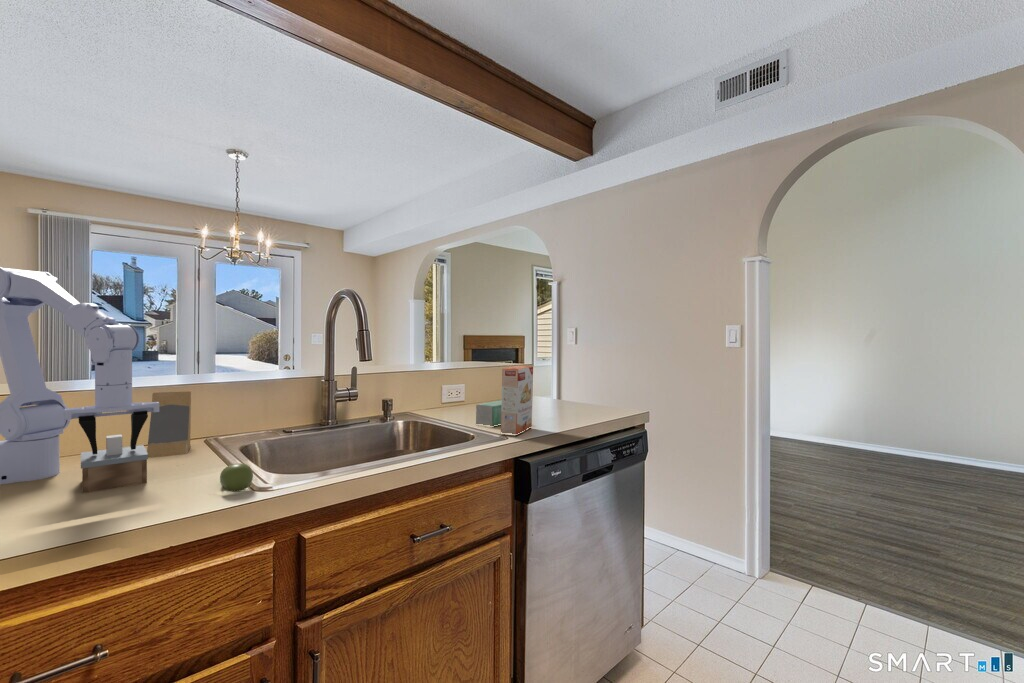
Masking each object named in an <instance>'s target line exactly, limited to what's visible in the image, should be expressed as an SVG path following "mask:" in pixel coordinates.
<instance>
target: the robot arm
mask: <svg viewBox="0 0 1024 683" xmlns="http://www.w3.org/2000/svg"><path fill="white" fill-rule="evenodd" d="M44 305H47V306H48V307H50V308H52V309H53V310H55V311H57V312H59V313H60V314H61V315H64V316H63V321H64V324H66V326H68V327H69V328H71V330H74V331H75V332H76V333H78V334H79V335H80V336H82V337H83V338H84V339H85V342H86V346H87V348H88V349H89V351H90V354H91V358H90V359H91V360H92V362H94V404H95V405H90V406H89V405H88V406H81V407H72V408H69V407H68V406H67V405H66V404H65V402H64V400H63V397H62V395H61V394H60V393H58V392H56V391H54V390H51V389H50V388H48V387H47V386H46V381H45V377H44V374H43V370H42V367H41V363H40V360H39V356H38V352H37V348H36V345H35V342H34V337H33V334H32V330H31V327H30V323H29V318H28V317H29V316H30V315H31V314H33V313H36V312H38V311H39V310H40V309H41V308H42V307H43V306H44ZM99 308H100V306H99V305H97V304H96V303H91V302H90V303H89V302H79V301H78V300H77V299H76V298H75V297H74V296H73V295H71V294H70V293H69V292H68V291H66V290H65V289H64V288H63V287H62V286H61V285H60V282H59V278H58V277H56V276H53V275H52V273H50V272H48V271H45V270H44V271H42V270H40V271H39V270H37V271H36V270H28V269H18V268H9V267H2V266H0V360H1V364H2V368H3V371H4V376H5V379H6V382H7V386H8V390H9V395H8V396H6V397H5V398H4V399H2V400H1V401H0V435H1V436H2V438H4V439H5V440H0V485H5V484H12V483H13V484H14V483H19V482H20V483H21V482H22V483H23V482H31V481H39V480H43V479H48V478H51V477H54V476H57V475H59V474H60V468H61V467H60V464H61V463H60V459H61V458H60V435H63V434H64V430H65V429H66V428H67V427H68V426H69V424H70V422H71V420H73V419H75V420H76V419H78V424H79V426H80V427H81V428H82V430H83V432H84V434H85V436H86V437H87V439H88V441H89V444H90V447H91V451H92V454H93V455H94V454H97V451H98V443H97V423H96V422H97V421H96V419H97V417H108V416H110V417H111V416H121V415H122V416H123V415H130V427H131V435H130V441H129V442H130V446H129V447H131V450H133V449H136V446H137V442H138V439H139V436H140V433H141V431H142V428H143V426H144V425H145V423H146V421H147V420H148V417H149V414H148V413H151V412H159V402H152V401H151V402H150V401H149V402H133V352H134V351H135V350H136V349H137V348H138V347H139V344H140V338H141V337H140V332H139V331H138V330H137V328H136V327H134V325H133V324H130V323H120V322H118V321H116V319H115V318H114V317H113V316H109V315H108V314H106V313H105V312H104V311H102V310H101V309H99Z"/></svg>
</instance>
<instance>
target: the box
mask: <svg viewBox="0 0 1024 683" xmlns="http://www.w3.org/2000/svg"><path fill="white" fill-rule="evenodd" d="M501 402H502V400H496V401H489V402H484V403H477V404H476V406H475V409H476V410H475V425H476V424H483V425H490V426H494V425H498V424H501Z"/></svg>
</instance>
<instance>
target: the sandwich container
mask: <svg viewBox="0 0 1024 683" xmlns="http://www.w3.org/2000/svg"><path fill="white" fill-rule="evenodd" d="M151 395H152V396H151V398H152V399H151V402H159V412H150V420H149V428H148V431H149V432H148V440H147V447H146V451H147V453H148V459H151V458H161V457H162V458H163V457H170V456H179V455H186V454H188V452H189V451H190V449H191V427H192V426H191V425H192V424H191V422H192V421H191V417H192V415H191V414H192V412H191V411H192V393H191V391H190V390H189V391H188V390H187V391H164V392H163V391H161V392H153V393H152V394H151Z"/></svg>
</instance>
